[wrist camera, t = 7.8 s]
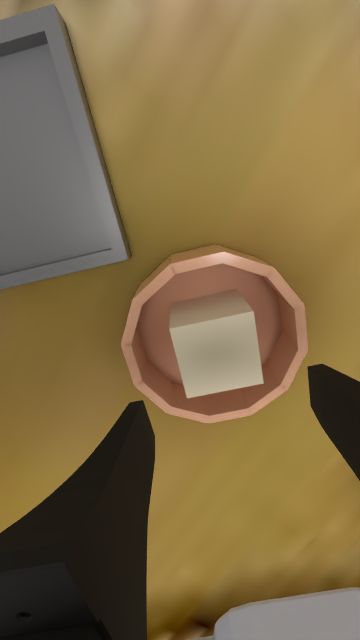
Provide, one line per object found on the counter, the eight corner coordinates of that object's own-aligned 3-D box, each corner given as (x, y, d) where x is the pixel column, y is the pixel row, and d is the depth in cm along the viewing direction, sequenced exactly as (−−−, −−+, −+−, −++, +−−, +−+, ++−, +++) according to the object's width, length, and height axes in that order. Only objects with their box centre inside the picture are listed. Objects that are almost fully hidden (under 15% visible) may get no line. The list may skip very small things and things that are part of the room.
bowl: (154, 402, 23) (150, 434, 20) (111, 268, 19) (99, 280, 16) (292, 375, 22) (312, 403, 19) (277, 229, 19) (299, 233, 15)
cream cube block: (184, 360, 21) (187, 398, 17) (170, 303, 20) (169, 329, 15) (245, 348, 21) (263, 383, 17) (236, 288, 19) (253, 311, 15)
